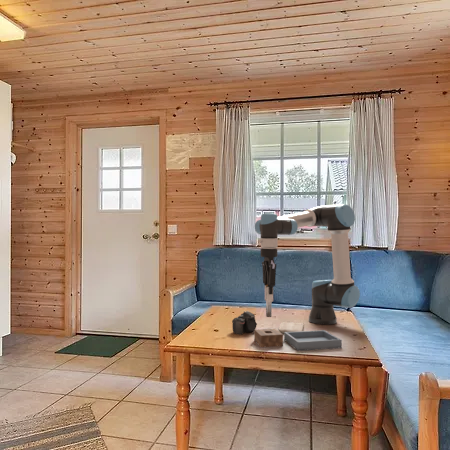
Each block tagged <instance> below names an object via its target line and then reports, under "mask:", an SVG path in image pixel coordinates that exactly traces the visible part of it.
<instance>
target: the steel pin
mask: <svg viewBox="0 0 450 450" xmlns="http://www.w3.org/2000/svg"><path fill="white" fill-rule="evenodd" d="M266 286H268V285H266ZM265 302H266V303H265V313H266V314H265V317H266V318H272V313H273V312H272V309H273V308H272V305H273V303H272V302H267V287H266V300H265Z"/></svg>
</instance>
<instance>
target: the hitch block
mask: <svg viewBox="0 0 450 450" xmlns="http://www.w3.org/2000/svg"><path fill="white" fill-rule="evenodd" d="M253 332H254V333H253V334H254V335H253V336H254V337H253V338H254V339H253V340H254V342H255V343H256V344H257V345H258V346H259V348H273V347H275V348H276V347H283V346H284V334H282V333H280V332H279V329H276V328H260V329H255V330H254V331H253Z"/></svg>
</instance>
